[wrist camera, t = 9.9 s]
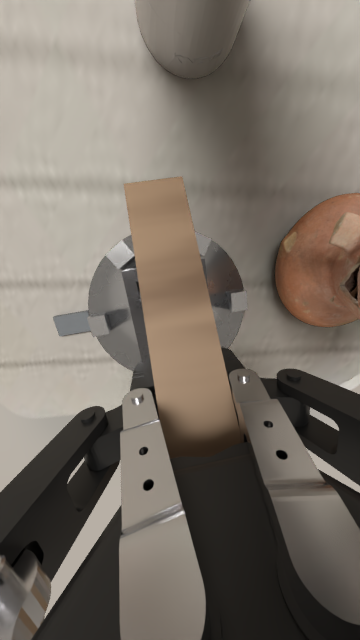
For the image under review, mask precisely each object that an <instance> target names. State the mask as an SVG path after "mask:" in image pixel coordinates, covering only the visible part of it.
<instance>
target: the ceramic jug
mask: <svg viewBox="0 0 360 640" xmlns="http://www.w3.org/2000/svg"><path fill="white" fill-rule="evenodd" d="M275 281H276V287H277V291H278V294H279V297H280V299H281V301H282V303H283V304H284V306H285V307H286V308H287V310H288V311H289V312H290V313H291V314H292V315H293V316H295V317H296V318H297V319H299V320H301V321H303V322H305V323H307V324H310V325H314V326H320V327H333V326H340V325H344V324H347V323H350V322H353V321H355V320H358V319H360V193H352V194H344V195H339V196H336V197H333V198H330V199H328V200H326V201H324V202H322V203H320V204H318V205H317V206H315V207H314V208H312V209H311V210H310V211H308V212H307V213H306V214H305V215H304V216H303V217H302V218H301V219H300V220H299V221H298V222H297V223H296V224H295V225H294V226H293V228H292V229H291V230H290V232H289V233H288V234H287V236H286V237H285V238H284V239H283V240H282V241H281V243H280V248H279V252H278V256H277V260H276V267H275Z"/></svg>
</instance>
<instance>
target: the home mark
mask: <svg viewBox="0 0 360 640" xmlns="http://www.w3.org/2000/svg"><path fill="white" fill-rule="evenodd" d="M87 317H89V310H88V311H82V312H76V313H70V314H64V315H58V316H54V317H53V319H54V322H55V325H56V328H57V331H58V333H59V336H64V335H69V334H75V333H81V332H87V331H91V329H90V326H89V323H88V319H87Z"/></svg>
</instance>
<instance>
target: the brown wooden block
mask: <svg viewBox="0 0 360 640" xmlns="http://www.w3.org/2000/svg"><path fill="white" fill-rule="evenodd" d="M124 189H125V196H126V202H127V209H128V215H129V222H130V229H131V235H132V242H133V248H134V255H135V261H136V268H137V275H138V281H139V288H140V294H141V301H142V308H143V314H144V321H145V327H146V334H147V341H148V347H149V354H150V360H151V367H152V374H153V380H154V387H155V393H156V400H157V407H158V413H159V420H160V424H161V428H162V432H163V435H164V439H165V443H166V447H167V450H168V454H169V458H170V459H172V458H176V457H181V456H185V457H211V456H214V455H215V454H217V453H219V452H221V451H223V450H225V449H227V448H229V447H231V446H233V445H236V444H240V430H239V425H238V420H237V416H236V412H235V407H234V403H233V398H232V394H231V390H230V385H229V381H228V376H227V372H226V368H225V363H224V359H223V354H222V350H221V346H220V341H219V337H218V332H217V328H216V324H215V319H214V315H213V310H212V306H211V302H210V297H209V293H208V288H207V284H206V279H205V275H204V271H203V266H202V262H201V257H200V253H199V249H198V244H197V240H196V235H195V231H194V227H193V222H192V218H191V213H190V209H189V205H188V200H187V196H186V191H185V187H184V183H183V178H182V177H174V178H166V179H158V180H150V181H143V182H135V183H127V184H124Z"/></svg>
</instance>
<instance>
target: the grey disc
mask: <svg viewBox="0 0 360 640" xmlns="http://www.w3.org/2000/svg"><path fill="white" fill-rule="evenodd" d="M195 235H196V240H197V244H198V249H199V253H200V257H201V262H202V266H203V271H204V275H205V279H206V284H207V288H208V293H209V297H210V302H211V306H212V310H213V315H214V319H215V324H216V328H217V332H218V337H219V341H220V346H221V348H223V347H225V348H227V349H228V347H229V346H230V345H231V343H232V342H233V340H234V338H235V337H236V335H237V333H238V330H239V328H240V325H241V322H242V318H243V312H244V310H247V291H245V290H243V285H242V281H241V278H240V275H239V273H238V270H237V268H236V267H235V265H234V263H233V261H232V260H231V258H230V257H229V256H228V255H227V253H226V252H225V251H224V250H223V249H222V248H221V247H220V246H219V245H218V244H216V243H215V242H214V241H212V240H211V238H209V237H207V236H204V235H202V234H200V233H198V232H196V231H195ZM88 308H89V317H87V319H88V323H89V326H90V329H91V333H92V336H93V337H94V336H96V337H97V339H98V341H99V342H100V344H101V345H102V347H103V348H104V349H105V351H106V352H107V353H108V354H109V355H110V356H111V357H112V358H113V359H115V360H116V361H117V362H118V363H119V364H121V365H123V366H124V367H126V368H127V369H129V370H132V371H134V368H135V367H136V365H137V364H138V363H142V362H145V355H146V354H148V353H149V347H148V341H147V334H146V327H145V321H144V314H143V308H142V301H141V294H140V288H139V281H138V275H137V268H136V261H135V255H134V248H133V242H132V235H130V236H128V237H127V238H125V239H123V240H122V241H120V242H119V243H118V244H116V245H115V246H114V247H113V248H112V249H111V250H110V251H109V252H108V253H107V254H105V257H104V258H103V259H102V261H101V262H100V264H99V266H98V267H97V269H96V271H95V273H94V276H93V279H92V282H91V285H90V290H89V299H88Z"/></svg>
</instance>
